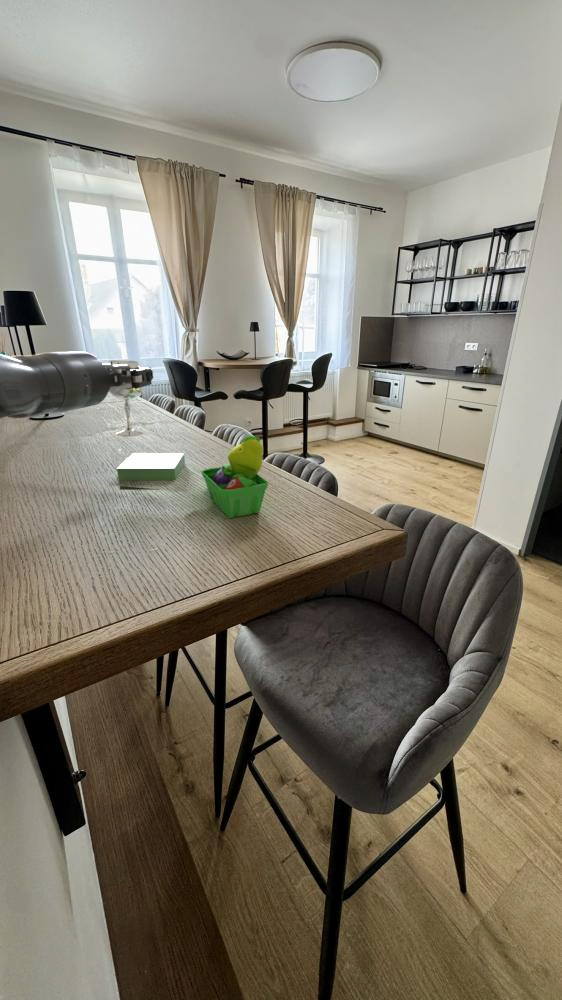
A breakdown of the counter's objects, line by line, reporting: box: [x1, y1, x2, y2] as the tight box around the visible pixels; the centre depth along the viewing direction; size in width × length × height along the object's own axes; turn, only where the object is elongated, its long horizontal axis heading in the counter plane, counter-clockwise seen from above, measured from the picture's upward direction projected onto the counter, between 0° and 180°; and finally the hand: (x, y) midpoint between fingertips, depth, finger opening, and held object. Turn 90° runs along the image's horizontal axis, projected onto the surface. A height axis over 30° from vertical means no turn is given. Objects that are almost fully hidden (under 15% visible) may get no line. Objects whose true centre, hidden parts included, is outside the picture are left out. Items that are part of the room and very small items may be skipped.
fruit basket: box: [200, 435, 269, 519], centre depth 65 cm, size 11×9×11 cm
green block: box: [116, 452, 186, 491], centre depth 77 cm, size 10×10×4 cm
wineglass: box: [107, 359, 144, 438], centre depth 69 cm, size 6×6×12 cm
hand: (132, 373), depth 70 cm, fingers closed on wineglass, 5 cm apart
